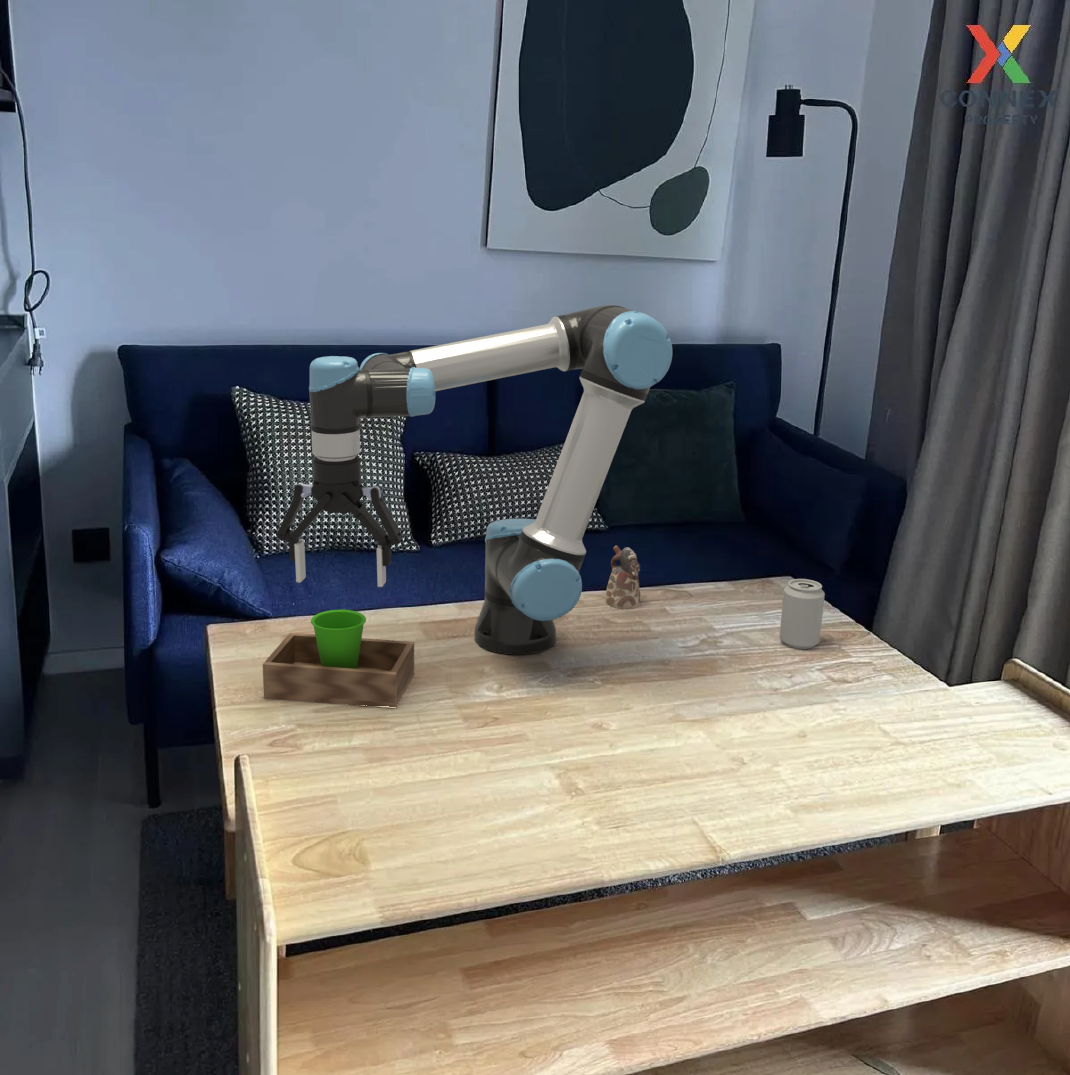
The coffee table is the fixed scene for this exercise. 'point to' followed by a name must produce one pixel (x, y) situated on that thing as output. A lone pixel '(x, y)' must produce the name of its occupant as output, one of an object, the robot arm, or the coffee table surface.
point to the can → (802, 613)
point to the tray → (339, 673)
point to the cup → (339, 637)
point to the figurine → (624, 580)
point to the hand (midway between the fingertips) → (341, 582)
